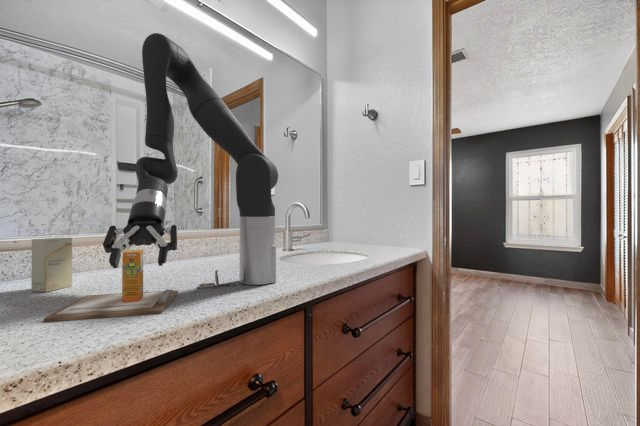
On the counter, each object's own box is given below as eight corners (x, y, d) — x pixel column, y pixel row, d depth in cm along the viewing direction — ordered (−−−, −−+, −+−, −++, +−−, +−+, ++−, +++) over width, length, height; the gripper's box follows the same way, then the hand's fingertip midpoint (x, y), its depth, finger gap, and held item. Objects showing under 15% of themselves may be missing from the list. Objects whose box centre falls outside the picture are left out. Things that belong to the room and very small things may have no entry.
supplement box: (120, 303, 57) (120, 251, 57) (125, 298, 61) (125, 249, 61) (140, 301, 59) (140, 250, 59) (144, 296, 62) (143, 248, 62)
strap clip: (197, 290, 71) (197, 273, 71) (198, 287, 74) (198, 270, 74) (234, 288, 74) (234, 271, 74) (234, 285, 76) (234, 268, 76)
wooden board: (178, 292, 68) (178, 284, 68) (161, 313, 54) (161, 303, 54) (86, 298, 64) (86, 289, 64) (43, 321, 50) (43, 311, 50)
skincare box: (45, 292, 68) (45, 239, 68) (30, 291, 69) (30, 239, 69) (73, 286, 74) (73, 237, 74) (59, 285, 75) (58, 236, 75)
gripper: (111, 199, 69) (93, 256, 59) (178, 200, 74) (173, 252, 63) (118, 221, 74) (102, 277, 64) (181, 221, 79) (176, 272, 69)
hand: (137, 264), depth 64 cm, fingers open, 8 cm apart
